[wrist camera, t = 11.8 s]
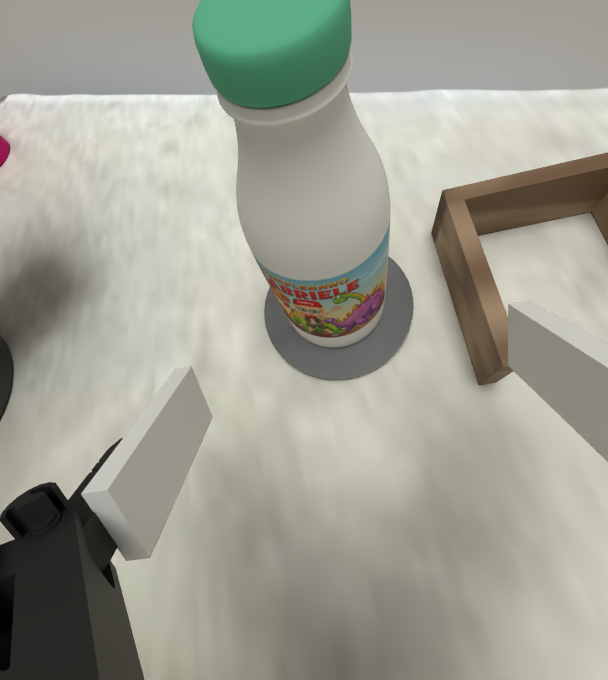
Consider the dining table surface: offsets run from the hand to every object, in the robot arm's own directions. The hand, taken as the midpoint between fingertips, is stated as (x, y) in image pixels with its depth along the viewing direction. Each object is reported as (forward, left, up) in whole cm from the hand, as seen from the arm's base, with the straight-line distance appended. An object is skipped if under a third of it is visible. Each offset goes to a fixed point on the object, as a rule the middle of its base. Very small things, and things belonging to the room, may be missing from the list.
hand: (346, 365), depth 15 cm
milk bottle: (-7, +4, -12) cm, 14 cm away
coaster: (-7, +4, -12) cm, 15 cm away
